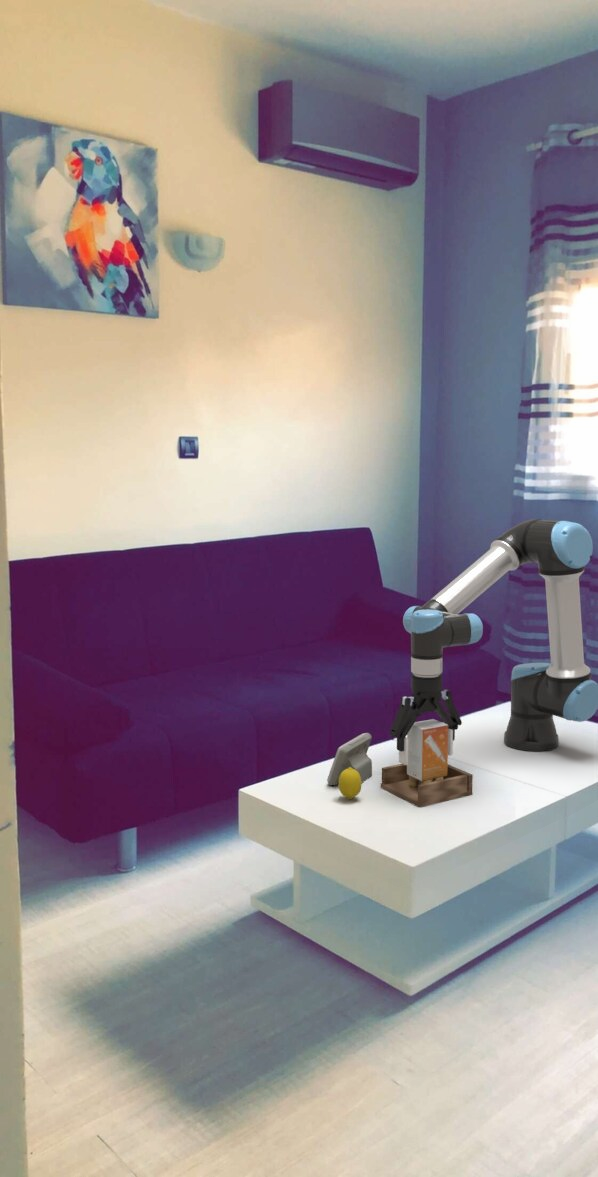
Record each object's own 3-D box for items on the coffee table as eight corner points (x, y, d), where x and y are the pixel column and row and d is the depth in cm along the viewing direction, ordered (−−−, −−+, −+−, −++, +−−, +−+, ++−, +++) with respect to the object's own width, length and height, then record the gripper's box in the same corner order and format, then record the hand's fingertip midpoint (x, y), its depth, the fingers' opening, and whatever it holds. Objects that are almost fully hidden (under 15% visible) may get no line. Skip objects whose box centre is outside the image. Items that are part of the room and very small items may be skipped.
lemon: (364, 796, 235) (364, 765, 234) (358, 804, 230) (357, 772, 228) (342, 794, 236) (342, 762, 235) (335, 802, 231) (335, 770, 230)
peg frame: (431, 776, 249) (431, 757, 248) (472, 794, 235) (472, 774, 235) (380, 787, 241) (380, 768, 240) (419, 807, 227) (419, 786, 227)
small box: (422, 781, 233) (422, 729, 231) (406, 774, 238) (406, 723, 237) (448, 775, 237) (448, 724, 235) (432, 768, 242) (432, 718, 241)
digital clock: (356, 767, 257) (356, 728, 255) (384, 774, 251) (384, 735, 249) (317, 783, 245) (316, 743, 243) (344, 791, 239) (344, 750, 237)
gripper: (457, 664, 243) (456, 746, 246) (375, 677, 231) (375, 763, 234) (476, 670, 237) (475, 754, 240) (393, 683, 225) (393, 771, 228)
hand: (426, 758), depth 237 cm, fingers open, 13 cm apart
